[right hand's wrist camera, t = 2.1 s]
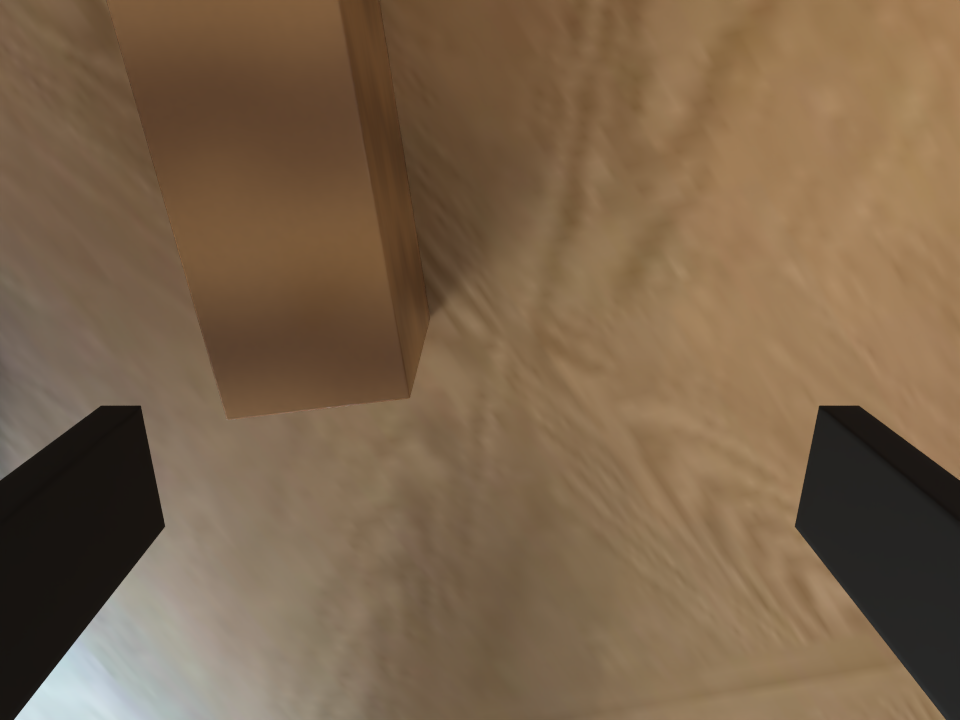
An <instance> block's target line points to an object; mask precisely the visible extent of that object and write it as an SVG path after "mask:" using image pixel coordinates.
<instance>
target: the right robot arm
mask: <svg viewBox="0 0 960 720" xmlns="http://www.w3.org/2000/svg"><path fill="white" fill-rule="evenodd" d="M164 527H165V524H164V519H163V514H162V509H161V504H160V499H159V494H158V489H157V484H156V479H155V474H154V469H153V464H152V459H151V454H150V449H149V444H148V439H147V434H146V429H145V425H144V420H143V415H142V410H141V406H100V407H99V408H97V409H96V410H95V411H93V412H92V413H91V414H89V415H88V416H87V417H85V418H84V419H83V420H81V421H80V422H79V423H77V424H76V425H74V426H73V427H72V428H70V429H69V430H68V431H66V432H65V433H64V434H62V435H61V436H60V437H58V438H57V439H56V440H54V441H53V442H52V443H50V444H49V445H48V446H46V447H45V448H44V449H42V450H41V451H39V452H38V453H37V454H35V455H34V456H33V457H31V458H30V459H29V460H27V461H26V462H25V463H23V464H22V465H21V466H19V467H18V468H17V469H15V470H14V471H13V472H11V473H10V474H9V475H7V476H6V477H4V478H3V479H2V480H0V720H14V719H15V718H16V716H17V715H18V714H19V712H20V711H21V710H22V709H23V707H24V706H25V705H26V704H27V702H28V701H29V700H30V698H31V697H32V696H33V695H34V693H35V692H36V691H37V690H38V688H39V687H40V686H41V684H42V683H43V682H44V681H45V679H46V678H47V677H48V675H49V674H50V673H51V672H52V670H53V669H54V668H55V667H56V665H57V664H58V663H59V661H60V660H61V659H62V658H63V656H64V655H65V654H66V652H67V651H68V650H69V649H70V647H71V646H72V645H73V644H74V642H75V641H76V640H77V638H78V637H79V636H80V635H81V633H82V632H83V631H84V629H85V628H86V627H87V626H88V624H89V623H90V622H91V621H92V619H93V618H94V617H95V615H96V614H97V613H98V612H99V610H100V609H101V608H102V606H103V605H104V604H105V603H106V601H107V600H108V599H109V598H110V596H111V595H112V594H113V592H114V591H115V590H116V589H117V587H118V586H119V585H120V583H121V582H122V581H123V580H124V578H125V577H126V576H127V575H128V573H129V572H130V571H131V569H132V568H133V567H134V566H135V564H136V563H137V562H138V560H139V559H140V558H141V557H142V555H143V554H144V553H145V552H146V550H147V549H148V548H149V546H150V545H151V544H152V543H153V541H154V540H155V539H156V538H157V536H158V535H159V534H160V532H161V531H162V530H163V529H164ZM795 527H796V529H797V530H798V531H799V532H800V534H801V535H802V536H803V538H804V539H805V540H806V541H807V543H808V544H809V545H810V546H811V548H812V549H813V550H814V552H815V553H816V554H817V555H818V557H819V558H820V559H821V561H822V562H823V563H824V564H825V566H826V567H827V568H828V569H829V571H830V572H831V573H832V575H833V576H834V577H835V578H836V580H837V581H838V582H839V583H840V585H841V586H842V587H843V589H844V590H845V591H846V592H847V594H848V595H849V596H850V598H851V599H852V600H853V601H854V603H855V604H856V605H857V606H858V608H859V609H860V610H861V612H862V613H863V614H864V615H865V617H866V618H867V619H868V621H869V622H870V623H871V624H872V626H873V627H874V628H875V629H876V631H877V632H878V633H879V635H880V636H881V637H882V638H883V640H884V641H885V642H886V644H887V645H888V646H889V647H890V649H891V650H892V651H893V652H894V654H895V655H896V656H897V658H898V659H899V660H900V661H901V663H902V664H903V665H904V667H905V668H906V669H907V670H908V672H909V673H910V674H911V675H912V677H913V678H914V679H915V681H916V682H917V683H918V684H919V686H920V687H921V688H922V690H923V691H924V692H925V693H926V695H927V696H928V697H929V698H930V700H931V701H932V702H933V704H934V705H935V706H936V707H937V709H938V710H939V711H940V712H941V714H942V715H943V716H944V718H945V719H946V720H960V480H958V479H957V478H956V477H954V476H953V475H951V474H950V473H949V472H947V471H946V470H945V469H943V468H942V467H941V466H939V465H938V464H937V463H935V462H934V461H933V460H931V459H930V458H929V457H927V456H926V455H925V454H923V453H922V452H921V451H919V450H918V449H916V448H915V447H914V446H912V445H911V444H910V443H908V442H907V441H906V440H904V439H903V438H902V437H900V436H899V435H898V434H896V433H895V432H894V431H892V430H891V429H890V428H888V427H887V426H886V425H884V424H883V423H881V422H880V421H879V420H877V419H876V418H875V417H873V416H872V415H871V414H869V413H868V412H867V411H865V410H864V409H863V408H861V407H860V406H819V410H818V415H817V420H816V424H815V429H814V434H813V439H812V444H811V449H810V454H809V459H808V464H807V469H806V474H805V479H804V484H803V489H802V494H801V499H800V504H799V509H798V514H797V519H796V524H795Z"/></svg>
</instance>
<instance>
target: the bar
mask: <svg viewBox="0 0 960 720" xmlns="http://www.w3.org/2000/svg"><path fill="white" fill-rule="evenodd" d="M106 1H107V4H108V8H109V11H110V15H111V18H112V22H113V25H114V29H115V32H116V36H117V39H118V43H119V46H120V50H121V53H122V57H123V60H124V64H125V67H126V70H127V74H128V77H129V81H130V84H131V88H132V91H133V95H134V98H135V102H136V105H137V109H138V112H139V116H140V119H141V123H142V126H143V130H144V133H145V137H146V140H147V144H148V147H149V151H150V154H151V158H152V161H153V164H154V168H155V171H156V175H157V178H158V182H159V185H160V189H161V192H162V196H163V199H164V203H165V206H166V210H167V213H168V217H169V220H170V224H171V227H172V231H173V234H174V238H175V241H176V245H177V248H178V252H179V255H180V259H181V262H182V265H183V269H184V272H185V276H186V279H187V283H188V286H189V290H190V293H191V297H192V300H193V304H194V307H195V311H196V314H197V318H198V321H199V325H200V328H201V332H202V335H203V339H204V342H205V346H206V349H207V353H208V356H209V359H210V363H211V366H212V370H213V373H214V377H215V380H216V384H217V387H218V391H219V394H220V398H221V401H222V405H223V408H224V412H225V415H226V419H227V420H232V419H240V418H249V417H257V416H265V415H274V414H282V413H291V412H299V411H307V410H316V409H324V408H333V407H341V406H349V405H358V404H366V403H374V402H383V401H391V400H400V399H408V398H410V395H411V391H412V387H413V383H414V379H415V376H416V372H417V368H418V364H419V360H420V356H421V352H422V348H423V344H424V340H425V336H426V332H427V328H428V324H429V320H430V315H429V308H428V302H427V296H426V290H425V283H424V277H423V271H422V265H421V258H420V252H419V246H418V239H417V233H416V227H415V221H414V214H413V208H412V202H411V196H410V189H409V183H408V177H407V171H406V164H405V158H404V152H403V145H402V139H401V133H400V127H399V120H398V114H397V108H396V102H395V95H394V89H393V83H392V77H391V70H390V64H389V58H388V52H387V45H386V39H385V33H384V26H383V20H382V14H381V8H380V1H379V0H106Z"/></svg>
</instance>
